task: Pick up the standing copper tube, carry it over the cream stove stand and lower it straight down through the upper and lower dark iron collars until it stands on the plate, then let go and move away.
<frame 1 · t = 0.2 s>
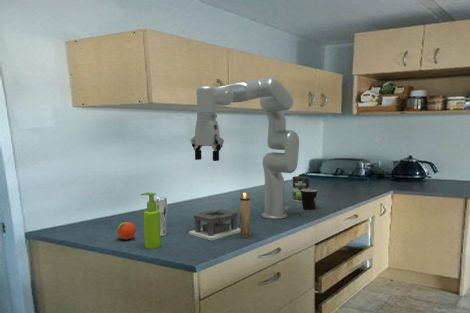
hand: (206, 160, 156), 31 cm above the worktop, tool pointing down, fingers open, 9 cm apart
soap dispenser: (151, 246, 144), on the worktop
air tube: (245, 236, 155), on the worktop
coffee can: (301, 200, 232), on the worktop
coffee mug: (306, 209, 207), on the worktop
collar stand: (216, 232, 161), on the worktop
beer glass: (159, 235, 159), on the worktop
clementine: (125, 240, 153), on the worktop
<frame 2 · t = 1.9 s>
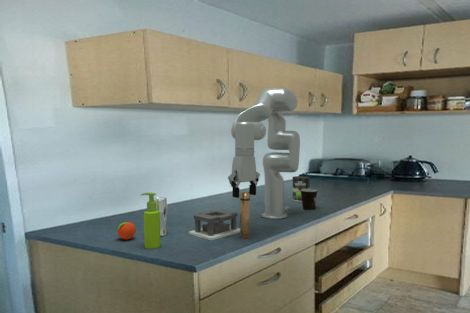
hand: (244, 196, 153), 17 cm above the worktop, tool pointing down, fingers open, 9 cm apart
nothing on the worktop moved.
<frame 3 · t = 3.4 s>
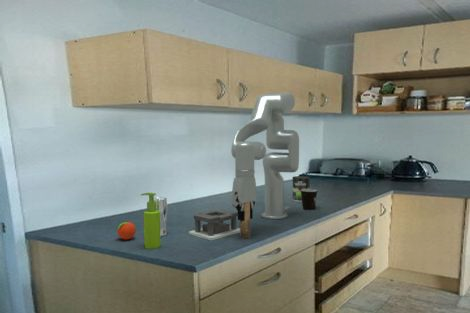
hand: (245, 218, 154), 7 cm above the worktop, tool pointing down, fingers closed on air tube, 4 cm apart
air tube: (245, 236, 155), on the worktop, touching gripper
everything else where it was.
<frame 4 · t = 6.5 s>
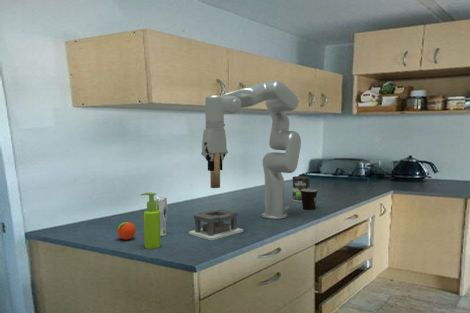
hand: (215, 169, 159), 26 cm above the worktop, tool pointing down, fingers closed on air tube, 4 cm apart
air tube: (215, 187, 160), point 19 cm above the worktop, touching gripper
everything else where it was.
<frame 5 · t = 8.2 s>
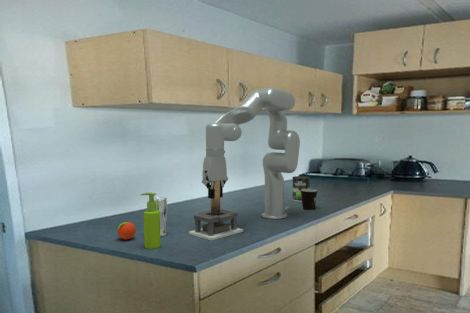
hand: (215, 197, 160), 15 cm above the worktop, tool pointing down, fingers closed on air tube, 4 cm apart
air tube: (215, 214, 161), point 8 cm above the worktop, touching gripper
everything else where it was.
when the fingers open (10 cm above the worktop, at t = 9.5 s): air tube drops 2 cm, resting on collar stand.
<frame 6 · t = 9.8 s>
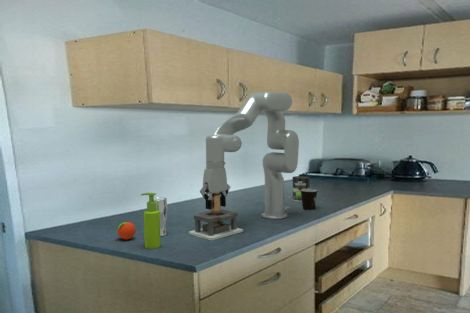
hand: (215, 207, 160), 11 cm above the worktop, tool pointing down, fingers open, 7 cm apart
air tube: (216, 230, 161), point 1 cm above the worktop, touching collar stand
everything else where it was.
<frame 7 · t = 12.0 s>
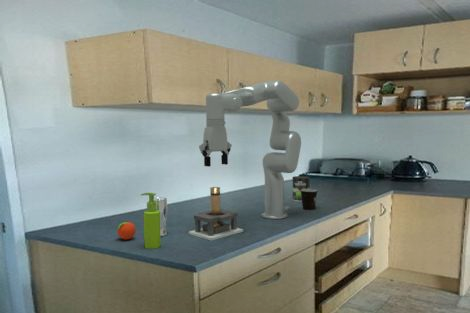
hand: (216, 165, 160), 28 cm above the worktop, tool pointing down, fingers open, 9 cm apart
nothing on the worktop moved.
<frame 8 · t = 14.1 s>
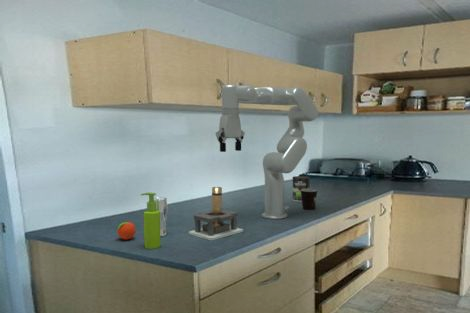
hand: (230, 151, 174), 33 cm above the worktop, tool pointing down, fingers open, 9 cm apart
nothing on the worktop moved.
at the end: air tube 0.1 cm off-centre on the collar stand, point 1.1 cm above the collar stand's base; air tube tilted 2°; the gripper is holding nothing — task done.
